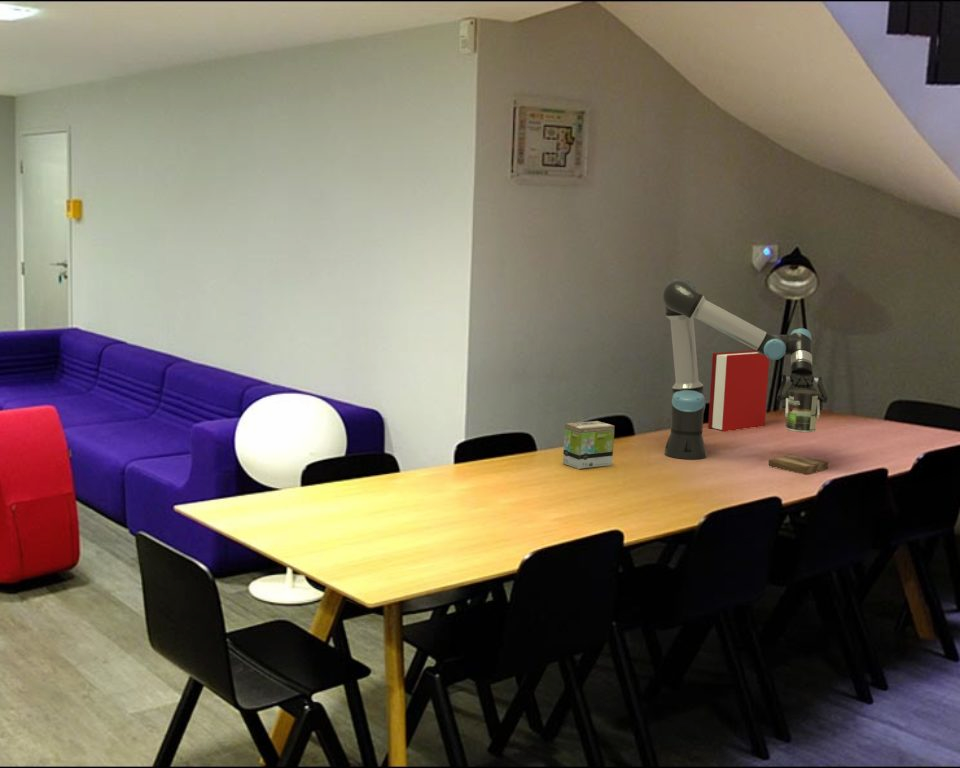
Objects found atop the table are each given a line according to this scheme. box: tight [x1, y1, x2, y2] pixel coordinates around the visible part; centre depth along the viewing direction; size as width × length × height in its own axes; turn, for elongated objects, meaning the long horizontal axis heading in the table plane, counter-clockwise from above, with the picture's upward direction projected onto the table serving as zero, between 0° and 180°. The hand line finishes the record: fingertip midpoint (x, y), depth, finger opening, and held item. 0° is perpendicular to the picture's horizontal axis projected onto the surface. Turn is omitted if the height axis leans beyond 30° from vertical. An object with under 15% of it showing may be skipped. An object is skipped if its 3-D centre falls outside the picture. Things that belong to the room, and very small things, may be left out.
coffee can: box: [785, 387, 819, 433], centre depth 385 cm, size 10×10×14 cm
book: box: [707, 349, 770, 432], centre depth 458 cm, size 27×8×32 cm, turn 124°
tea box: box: [562, 420, 615, 470], centre depth 382 cm, size 15×10×15 cm, turn 123°
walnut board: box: [767, 454, 829, 475], centre depth 388 cm, size 15×15×3 cm
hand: (802, 416), depth 382 cm, fingers closed on coffee can, 10 cm apart
